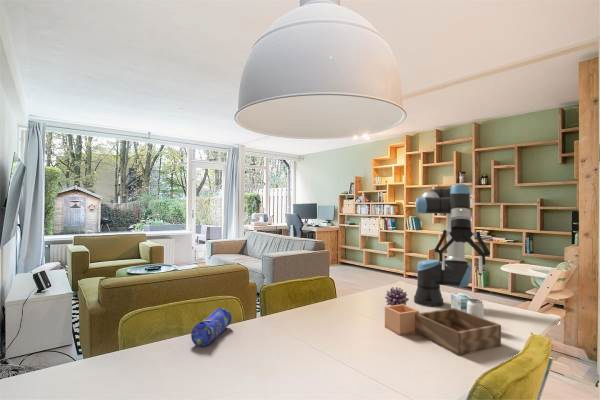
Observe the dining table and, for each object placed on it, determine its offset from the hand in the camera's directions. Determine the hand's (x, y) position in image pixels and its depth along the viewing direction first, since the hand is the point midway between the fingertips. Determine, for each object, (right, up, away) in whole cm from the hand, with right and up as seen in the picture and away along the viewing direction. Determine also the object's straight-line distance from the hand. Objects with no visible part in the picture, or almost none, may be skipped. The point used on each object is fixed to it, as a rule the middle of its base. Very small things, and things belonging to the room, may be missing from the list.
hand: (461, 271), depth 129 cm
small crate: (-21, -28, +11) cm, 36 cm away
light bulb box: (+13, -28, +25) cm, 40 cm away
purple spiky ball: (-15, -28, +37) cm, 49 cm away
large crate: (-2, -28, +1) cm, 28 cm away
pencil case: (-100, -27, +2) cm, 104 cm away
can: (+13, -28, +13) cm, 33 cm away
